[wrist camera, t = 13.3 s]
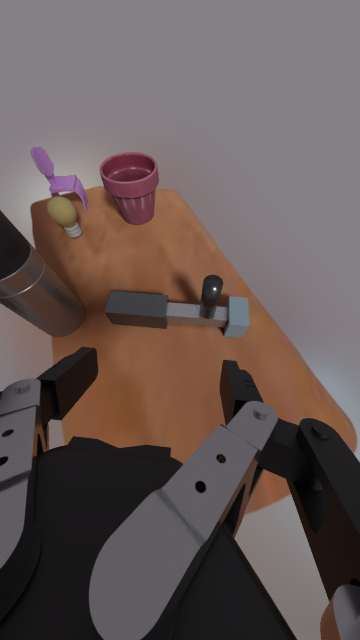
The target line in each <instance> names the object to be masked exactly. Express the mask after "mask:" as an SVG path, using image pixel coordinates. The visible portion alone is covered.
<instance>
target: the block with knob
mask: <svg viewBox="0 0 360 640" xmlns="http://www.w3.org/2000/svg"><path fill="white" fill-rule="evenodd" d="M222 286H223V281H222V279H221V278H220V277H218V276H216V275H209V276H207V277H206V278H205V279H204V281H203V288H202V296H201V303H200V305H194V304H182V303H170V302H167V308H166V314H165V318H166V322H168V323H179V324H190V325H201V326H212V327H223V328H226V327H227V324H228V322H229V317H228V307H218V306H217V304H218V300H219V297H220V293H221V290H222Z"/></svg>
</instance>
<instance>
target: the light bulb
mask: <svg viewBox="0 0 360 640" xmlns="http://www.w3.org/2000/svg"><path fill="white" fill-rule="evenodd" d="M47 211H48V213H49V215H50V217H51V218H52V219H53V220H54V221H55V222H56V223H58V224H60V225H62V226H64V229H65V230H66V232H67V233H68V235H69V236H70V237H72V238H77V237H79V236H80V235H81V234H82V230H81V229H80V227H79V225H78V223H77V222H76V219H77V210H76V208H75V206H74V204H73V203H72V202H71V201H70V200H68V199H67V198H64V197H61V196H57V197H53V198H52V199H50V200H49V202H48V204H47Z"/></svg>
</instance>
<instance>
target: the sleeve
mask: <svg viewBox="0 0 360 640" xmlns="http://www.w3.org/2000/svg"><path fill="white" fill-rule="evenodd" d="M167 302H169V299H168V295H158V294H145V293H132V292H120V291H111V293H110V296H109V299H108V302H107V305H106V308H105V311H104V313H105V314H106V315H107V317H108V318H109V320H110V321H111V322H112V324H119V325H130V326H141V327H152V328H163V329H167V323H168V322H166V318H165V314H166V308H167Z"/></svg>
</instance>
